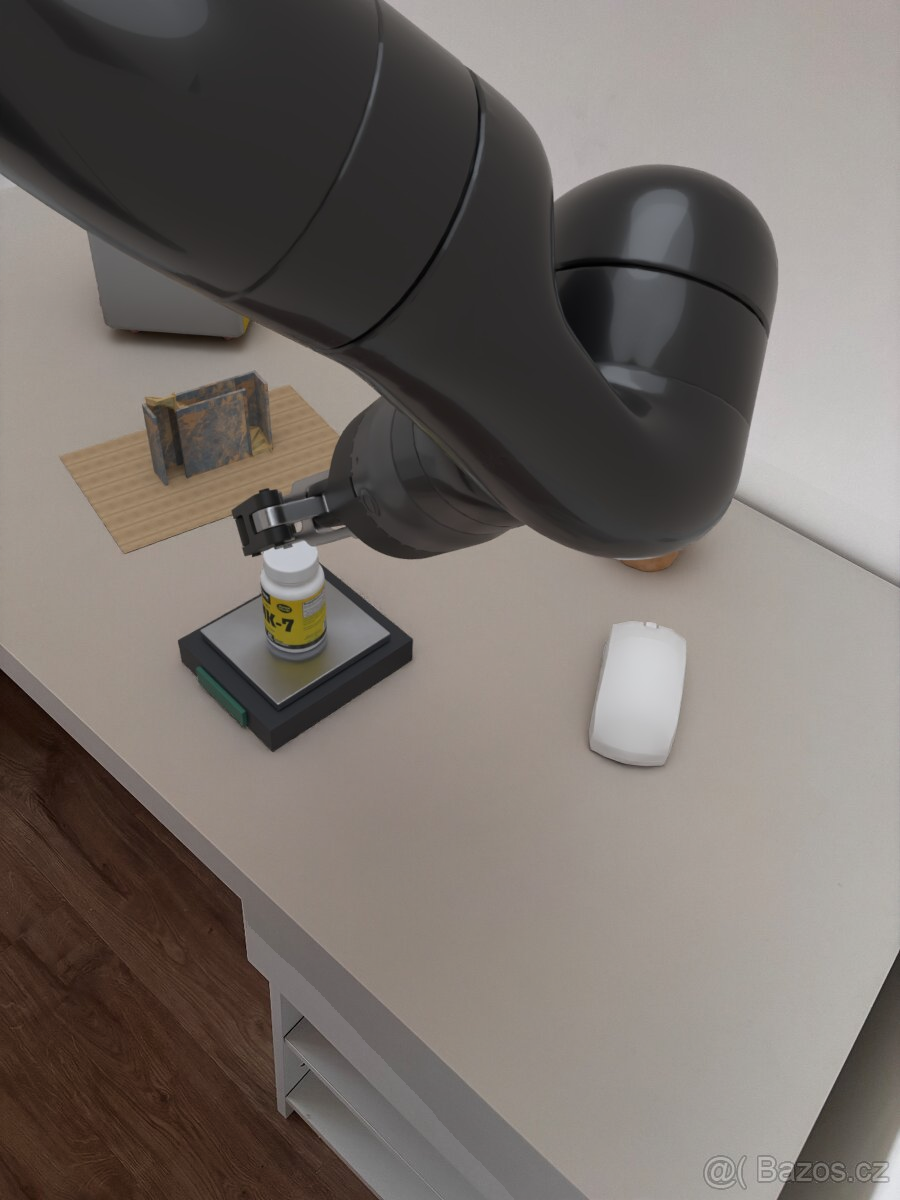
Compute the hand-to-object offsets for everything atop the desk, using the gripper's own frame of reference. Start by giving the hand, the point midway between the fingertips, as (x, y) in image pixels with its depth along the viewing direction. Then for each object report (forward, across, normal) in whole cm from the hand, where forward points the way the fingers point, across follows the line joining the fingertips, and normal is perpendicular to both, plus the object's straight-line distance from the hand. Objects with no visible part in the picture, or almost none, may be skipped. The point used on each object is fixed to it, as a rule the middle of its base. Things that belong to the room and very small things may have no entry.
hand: (345, 511), depth 60 cm
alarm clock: (+66, -8, -31) cm, 74 cm away
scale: (+26, 0, +9) cm, 27 cm away
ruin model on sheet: (+46, -2, -10) cm, 47 cm away
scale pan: (+24, 0, +7) cm, 25 cm away
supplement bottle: (+23, 0, +7) cm, 24 cm away
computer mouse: (+15, -23, +20) cm, 34 cm away
